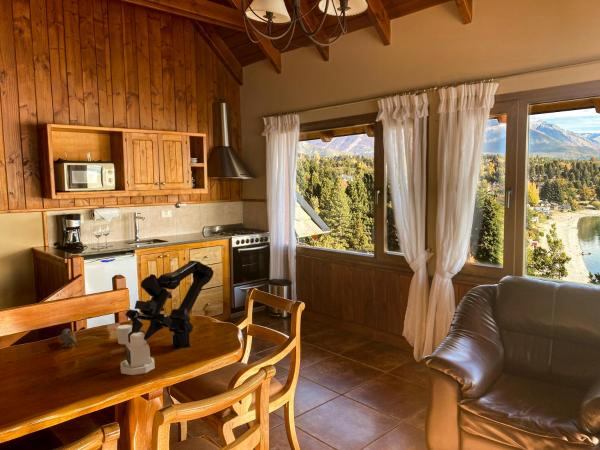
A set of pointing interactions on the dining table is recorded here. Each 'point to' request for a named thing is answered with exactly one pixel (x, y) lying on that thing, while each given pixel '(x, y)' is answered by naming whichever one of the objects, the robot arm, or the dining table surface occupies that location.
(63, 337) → the dog figurine
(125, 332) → the shot glass
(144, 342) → the medicine bottle
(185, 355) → the dining table surface
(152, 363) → the bowl
